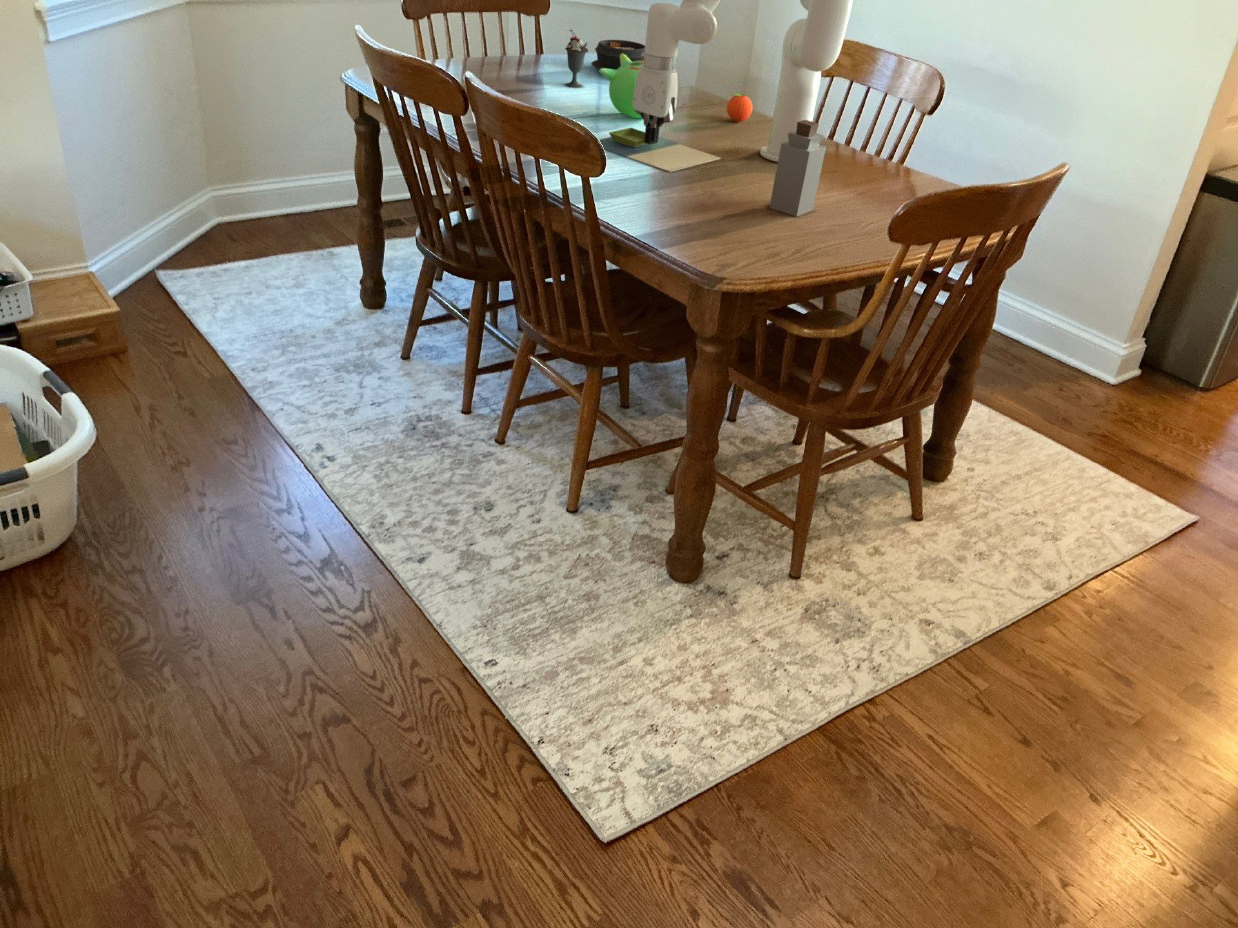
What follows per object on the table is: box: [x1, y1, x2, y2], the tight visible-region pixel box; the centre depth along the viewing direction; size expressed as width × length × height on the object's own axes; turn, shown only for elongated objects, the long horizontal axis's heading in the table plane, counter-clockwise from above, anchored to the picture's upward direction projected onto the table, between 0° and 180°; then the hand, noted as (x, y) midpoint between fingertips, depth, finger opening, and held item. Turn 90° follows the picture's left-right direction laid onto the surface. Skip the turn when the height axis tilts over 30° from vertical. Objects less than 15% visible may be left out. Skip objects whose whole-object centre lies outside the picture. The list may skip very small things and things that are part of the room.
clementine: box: [724, 93, 753, 123], centre depth 267 cm, size 8×7×7 cm
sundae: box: [564, 29, 589, 89], centre depth 282 cm, size 7×7×15 cm
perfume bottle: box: [768, 120, 827, 217], centre depth 204 cm, size 7×7×18 cm
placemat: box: [598, 136, 722, 173], centre depth 236 cm, size 26×20×1 cm
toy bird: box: [598, 54, 644, 119], centre depth 259 cm, size 18×17×15 cm
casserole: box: [590, 39, 645, 70], centre depth 304 cm, size 25×19×8 cm
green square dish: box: [608, 127, 648, 148], centre depth 239 cm, size 9×9×2 cm
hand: (650, 143), depth 236 cm, fingers closed
